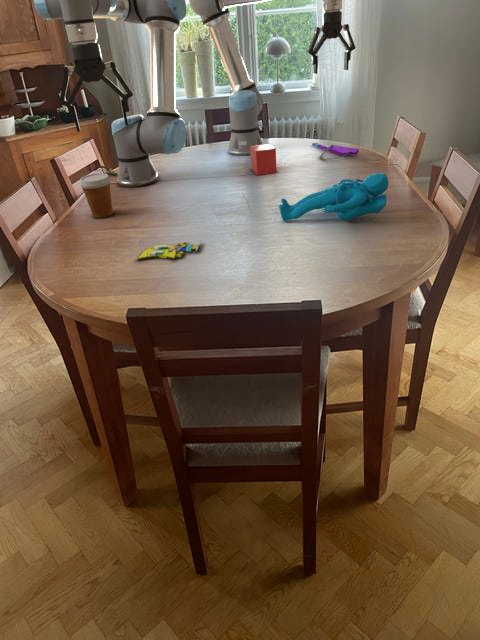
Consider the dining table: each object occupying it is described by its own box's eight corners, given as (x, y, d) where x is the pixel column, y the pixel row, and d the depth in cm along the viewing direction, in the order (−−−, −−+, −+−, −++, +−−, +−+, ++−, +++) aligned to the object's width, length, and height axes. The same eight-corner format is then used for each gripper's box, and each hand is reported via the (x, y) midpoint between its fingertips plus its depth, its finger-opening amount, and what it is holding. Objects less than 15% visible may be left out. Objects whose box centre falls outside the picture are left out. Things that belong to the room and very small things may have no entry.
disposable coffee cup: (82, 218, 153) (72, 181, 147) (99, 208, 161) (91, 172, 154) (106, 220, 150) (97, 182, 143) (123, 210, 157) (115, 173, 151)
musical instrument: (347, 164, 184) (366, 144, 196) (347, 159, 183) (366, 139, 195) (292, 163, 197) (312, 145, 209) (291, 158, 195) (312, 140, 208)
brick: (257, 175, 179) (255, 151, 174) (251, 169, 186) (250, 146, 181) (276, 172, 180) (275, 148, 175) (270, 166, 187) (269, 143, 182)
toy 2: (282, 188, 144) (385, 161, 134) (291, 220, 149) (391, 197, 139) (274, 208, 131) (387, 180, 120) (284, 243, 136) (394, 219, 125)
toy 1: (193, 256, 121) (136, 257, 123) (194, 259, 121) (137, 260, 123) (201, 240, 129) (147, 241, 131) (201, 243, 130) (148, 244, 132)
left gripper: (33, 48, 122) (57, 135, 133) (132, 38, 126) (147, 124, 137) (37, 47, 128) (59, 130, 139) (130, 37, 132) (145, 119, 143)
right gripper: (305, 14, 183) (305, 75, 195) (365, 8, 187) (362, 69, 199) (298, 14, 189) (299, 74, 201) (357, 8, 193) (354, 67, 205)
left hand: (103, 127), depth 138 cm, fingers open, 13 cm apart
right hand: (330, 71), depth 200 cm, fingers open, 13 cm apart
